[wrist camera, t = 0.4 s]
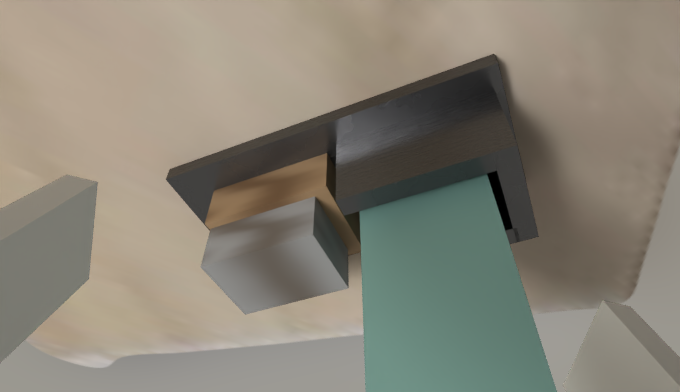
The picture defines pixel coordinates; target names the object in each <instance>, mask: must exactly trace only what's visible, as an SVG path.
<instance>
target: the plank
mask: <svg viewBox="0 0 680 392" xmlns="http://www.w3.org/2000/svg"><path fill="white" fill-rule="evenodd" d="M360 239H361V268H362V297H363V326H364V356H365V382H366V383H365V385H366V392H557V390H556V387H555V384H554V382H553V378H552V375H551V372H550V369H549V366H548V362H547V359H546V356H545V353H544V350H543V347H542V344H541V341H540V338H539V334H538V332H537V328H536V325H535V322H534V319H533V316H532V313H531V310H530V306H529V303H528V300H527V297H526V294H525V291H524V288H523V285H522V282H521V278H520V275H519V272H518V269H517V266H516V263H515V260H514V257H513V254H512V250H511V247H510V244H509V241H508V238H507V235H506V232H505V229H504V226H503V222H502V219H501V216H500V213H499V210H498V207H497V204H496V201H495V198H494V194H493V191H492V188H491V185H490V182H489V179H488V176H487V174H484V175H480V176H477V177H474V178H470V179H467V180H463V181H460V182H457V183H453V184H450V185H446V186H443V187H440V188H436V189H433V190H429V191H426V192H423V193H419V194H416V195H413V196H409V197H406V198H402V199H399V200H396V201H392V202H389V203H385V204H382V205H379V206H375V207H372V208H369V209H365V210H362V211H360Z"/></svg>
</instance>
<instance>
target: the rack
mask: <svg viewBox="0 0 680 392" xmlns="http://www.w3.org/2000/svg"><path fill="white" fill-rule="evenodd" d="M326 153H327V154H328V156H329V157H330V159H331V161H332V163H333V165H334V166H335V168H336V202H337V204H338V206H339V207H340V209H341V211H342V213H343V214H344V216H345V215H348V214H352V213H355V212H358V211H359V212H360V211H362V210H365V209H369V208H372V207H375V206H379V205H382V204H385V203H389V202H392V201H396V200H399V199H402V198H406V197H409V196H413V195H416V194H419V193H423V192H426V191H429V190H433V189H436V188H440V187H443V186H446V185H450V184H453V183H457V182H460V181H463V180H467V179H470V178H474V177H477V176H480V175H484V174H487V176H488V179H489V182H490V185H491V188H492V191H493V194H494V198H495V201H496V204H497V207H498V210H499V213H500V216H501V219H502V222H503V226H504V229H505V232H506V235H507V238H508V241H509V244H512V243H516V242H520V241H524V240H528V239H532V238H535V237H539V236H538V232H537V227H536V223H535V219H534V215H533V210H532V206H531V202H530V197H529V193H528V189H527V184H526V180H525V176H524V171H523V167H522V163H521V159H520V154H519V150H518V146H517V142H516V138H515V134H514V129H513V125H512V121H511V116H510V112H509V108H508V103H507V99H506V95H505V91H504V86H503V82H502V78H501V73H500V69H499V65H498V62H497V60H496V57H495V55H494V54H492V55H490V56H487V57H484V58H481V59H478V60H476V61H473V62H470V63H467V64H464V65H462V66H459V67H456V68H453V69H450V70H447V71H445V72H442V73H439V74H436V75H433V76H431V77H428V78H425V79H422V80H419V81H417V82H414V83H411V84H408V85H405V86H403V87H400V88H397V89H394V90H391V91H389V92H386V93H383V94H380V95H377V96H374V97H372V98H369V99H366V100H363V101H360V102H358V103H355V104H352V105H349V106H346V107H344V108H341V109H338V110H335V111H332V112H330V113H327V114H324V115H321V116H318V117H316V118H313V119H310V120H307V121H304V122H301V123H299V124H296V125H293V126H290V127H287V128H285V129H282V130H279V131H276V132H273V133H271V134H268V135H265V136H262V137H259V138H257V139H254V140H251V141H248V142H245V143H242V144H240V145H237V146H234V147H231V148H228V149H226V150H223V151H220V152H217V153H214V154H212V155H209V156H206V157H203V158H200V159H198V160H195V161H192V162H189V163H186V164H184V165H181V166H178V167H175V168H172V169H170V170H169V173H168V175H167V178H166V180H167V181H168V182H169V184H170V185H171V186H172V187H173V188H174V189H175V191H176V192H177V193H178V194H179V195H180V197H181V198H182V199H183V200H184V201H185V202H186V204H187V205H188V206H189V207H190V208H191V209H192V211H193V212H194V213H195V214H196V215H197V216H198V218H199V219H200V220H201V221H202V222H203V223H204V225H205V221H206V218H207V214H208V210H209V207H210V203H211V200H212V196H213V192H214V191H215V190H218V189H221V188H224V187H227V186H230V185H233V184H236V183H239V182H242V181H245V180H248V179H251V178H254V177H257V176H260V175H263V174H266V173H269V172H272V171H275V170H278V169H281V168H284V167H287V166H290V165H293V164H296V163H299V162H302V161H305V160H308V159H311V158H314V157H317V156H320V155H323V154H326ZM205 226H206V225H205ZM206 227H207V226H206ZM207 228H208V227H207ZM208 229H209V228H208Z"/></svg>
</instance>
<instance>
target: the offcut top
mask: <svg viewBox="0 0 680 392" xmlns="http://www.w3.org/2000/svg"><path fill="white" fill-rule="evenodd" d="M201 268H202V269H203V270H204V271H205V272H206V273H207V274H208V275H209V277H210V278H211V279H212V280H213V281H214V282H215V283H216V284H217V285H218V286H219V287H220V288H221V289H222V290H223V291H224V293H225V294H226V295H227V296H228V297H229V298H230V299H231V300H232V301H233V302H234V303H235V304H236V305H237V306H238V307H239V309H240V310H241V311H242V312H243V313H244V314H249V313H253V312H257V311H261V310H265V309H269V308H272V307H276V306H280V305H284V304H288V303H292V302H296V301H300V300H304V299H308V298H312V297H316V296H320V295H324V294H328V293H331V292H335V291H339V290H343V289H347V288H348V249H347V247H346V246H345V244H344V242H343V241H342V239H341V238H340V236H339V234H338V233H337V231H336V229H335V228H334V226H333V224H332V223H331V221H330V220H329V218H328V216H327V215H326V213H325V211H324V210H323V208H322V207H321V205H320V203H319V202H318V200H317V198H316V197H315V196H314V197H311V198H308V199H305V200H302V201H298V202H295V203H292V204H289V205H285V206H282V207H279V208H276V209H273V210H269V211H266V212H263V213H260V214H257V215H253V216H250V217H247V218H244V219H240V220H237V221H234V222H231V223H228V224H224V225H221V226H218V227H215V228H212V229H211V230H210V233H209V237H208V241H207V245H206V249H205V252H204V256H203V260H202V264H201Z"/></svg>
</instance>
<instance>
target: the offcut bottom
mask: <svg viewBox="0 0 680 392" xmlns="http://www.w3.org/2000/svg"><path fill="white" fill-rule="evenodd" d="M314 196H315V197H316V198H317V200H318V202H319V203H320V205H321V207H322V208H323V210H324V211H325V213H326V215H327V216H328V218H329V220H330V221H331V223H332V224H333V226H334V228H335V229H336V231H337V233H338V234H339V236H340V238H341V239H342V241H343V242H344V244H345V246H346V247H347V249H348V255H352V254H356V253H359V252H361V239H360V212H359V211H358V212H355V213H352V214H348V215H345V216H344V214H343V213H342V211H341V209H340V207H339V206H338V204H337V202H336V168H335V166H334V165H333V163H332V161H331V159H330V157H329V156H328V154H327V153H326V154H323V155H320V156H317V157H314V158H311V159H308V160H305V161H302V162H299V163H296V164H293V165H290V166H287V167H284V168H281V169H278V170H275V171H272V172H269V173H266V174H263V175H260V176H257V177H254V178H251V179H248V180H245V181H242V182H239V183H236V184H233V185H230V186H227V187H224V188H221V189H218V190H215V191H214V192H213V196H212V200H211V203H210V207H209V210H208V214H207V218H206V221H205V225H206V226H207V227H208V228H209V230H211V229H212V228H215V227H218V226H221V225H224V224H228V223H231V222H234V221H237V220H240V219H244V218H247V217H250V216H253V215H257V214H260V213H263V212H266V211H269V210H273V209H276V208H279V207H282V206H285V205H289V204H292V203H295V202H298V201H302V200H305V199H308V198H311V197H314Z"/></svg>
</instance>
